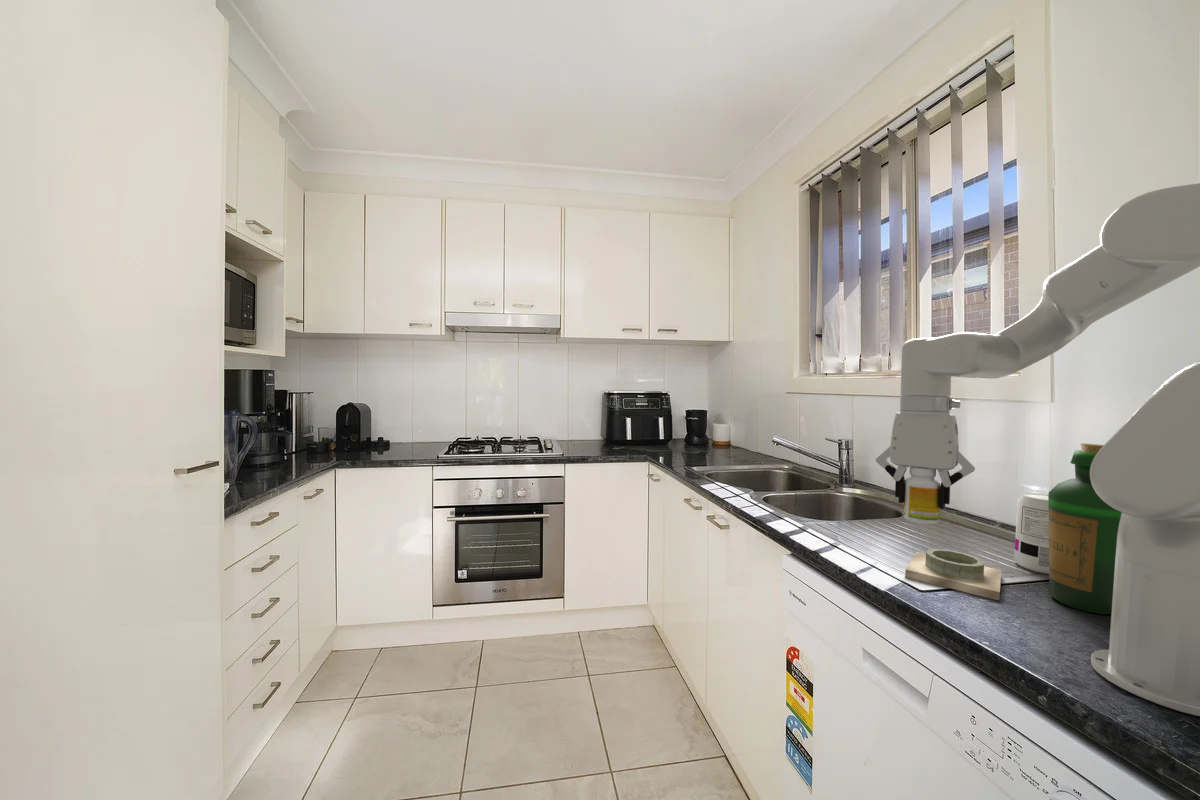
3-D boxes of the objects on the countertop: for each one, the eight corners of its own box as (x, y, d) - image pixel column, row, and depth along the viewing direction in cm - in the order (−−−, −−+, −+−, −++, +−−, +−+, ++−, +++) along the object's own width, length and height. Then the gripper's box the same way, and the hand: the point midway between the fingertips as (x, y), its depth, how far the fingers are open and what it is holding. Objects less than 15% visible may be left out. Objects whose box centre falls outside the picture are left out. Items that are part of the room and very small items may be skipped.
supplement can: (1004, 559, 103) (1008, 491, 103) (1046, 562, 102) (1050, 493, 101) (1032, 574, 95) (1037, 500, 94) (1078, 577, 94) (1083, 503, 93)
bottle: (1036, 585, 89) (1045, 439, 88) (1117, 602, 83) (1128, 444, 82) (1047, 606, 80) (1058, 444, 79) (1139, 626, 74) (1152, 451, 73)
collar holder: (1000, 577, 93) (1002, 557, 93) (999, 600, 82) (1000, 578, 82) (916, 558, 102) (917, 540, 102) (905, 577, 91) (906, 556, 91)
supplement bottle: (946, 524, 83) (948, 470, 83) (915, 524, 84) (917, 469, 83) (926, 516, 89) (927, 465, 89) (897, 516, 89) (898, 464, 89)
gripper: (986, 407, 83) (982, 509, 83) (875, 404, 94) (873, 494, 95) (984, 408, 77) (980, 517, 78) (867, 404, 89) (864, 500, 89)
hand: (921, 503), depth 86 cm, fingers closed on supplement bottle, 5 cm apart
